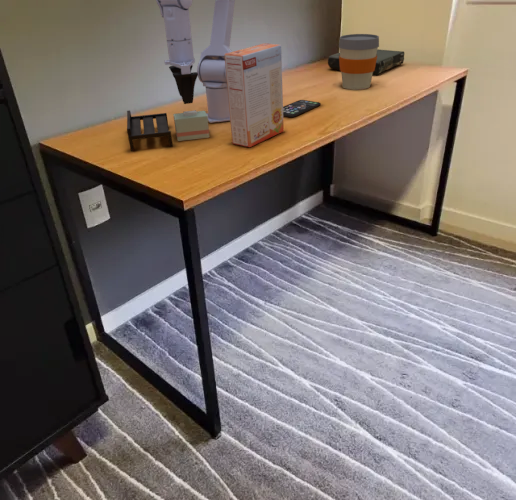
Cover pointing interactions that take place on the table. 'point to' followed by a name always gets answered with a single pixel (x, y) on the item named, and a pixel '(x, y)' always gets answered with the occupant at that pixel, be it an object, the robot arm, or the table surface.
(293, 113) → the smartphone
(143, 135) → the rack
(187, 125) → the tissue box
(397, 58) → the network switch
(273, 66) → the cracker box
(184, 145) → the table surface
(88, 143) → the table surface
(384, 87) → the table surface
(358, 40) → the reusable coffee cup
